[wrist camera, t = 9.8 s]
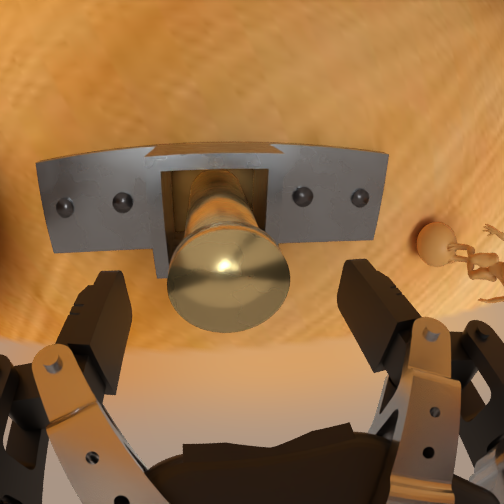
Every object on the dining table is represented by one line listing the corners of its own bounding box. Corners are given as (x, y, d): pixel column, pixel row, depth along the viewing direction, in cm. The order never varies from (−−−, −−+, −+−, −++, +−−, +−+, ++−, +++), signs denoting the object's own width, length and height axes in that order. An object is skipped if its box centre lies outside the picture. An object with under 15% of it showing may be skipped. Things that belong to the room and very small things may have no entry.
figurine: (401, 206, 22) (504, 286, 11) (447, 179, 21) (549, 238, 11) (414, 275, 26) (486, 357, 16) (454, 247, 25) (529, 314, 15)
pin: (247, 162, 18) (295, 229, 9) (246, 220, 20) (283, 328, 11) (183, 163, 18) (159, 234, 8) (186, 223, 20) (175, 335, 10)
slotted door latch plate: (383, 152, 19) (420, 167, 15) (368, 235, 23) (398, 264, 19) (41, 160, 16) (5, 178, 12) (58, 248, 19) (32, 281, 15)
